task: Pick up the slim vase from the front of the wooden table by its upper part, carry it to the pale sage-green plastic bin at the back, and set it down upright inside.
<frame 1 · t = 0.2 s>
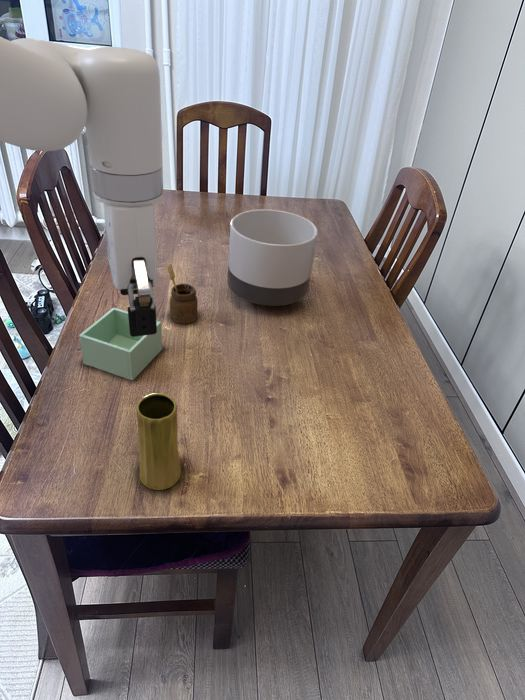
hand: (137, 312, 63), 25 cm above the table, tool pointing down, fingers open, 9 cm apart
bin: (124, 356, 94), on the table
planter: (266, 295, 118), on the table
utensil holder: (183, 317, 107), on the table
vase: (160, 474, 73), on the table
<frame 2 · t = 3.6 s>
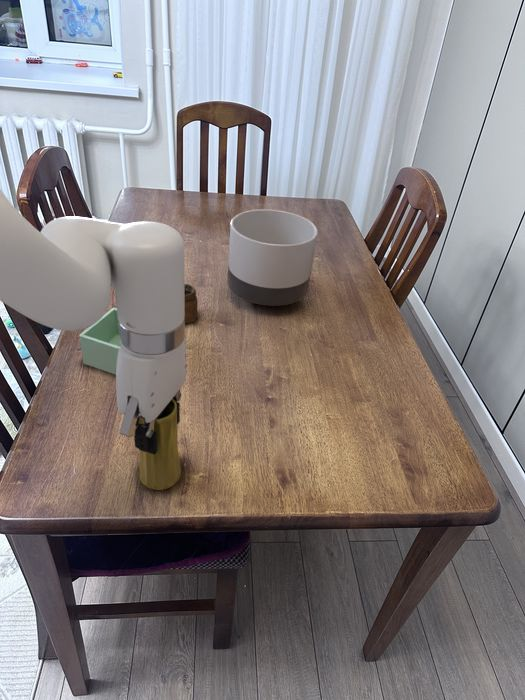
hand: (158, 433, 68), 9 cm above the table, tool pointing down, fingers closed on vase, 5 cm apart
vase: (160, 474, 73), on the table, touching gripper
everything else where it was.
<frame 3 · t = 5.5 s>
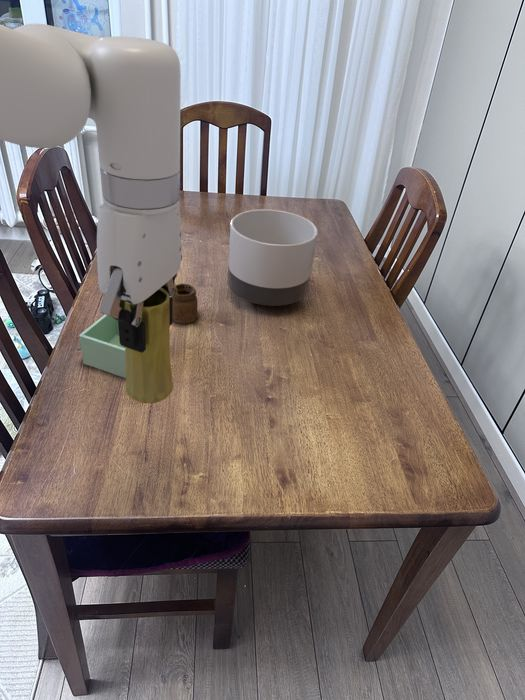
hand: (147, 333, 59), 25 cm above the table, tool pointing down, fingers closed on vase, 5 cm apart
vase: (149, 389, 64), point 16 cm above the table, touching gripper
everything else where it was.
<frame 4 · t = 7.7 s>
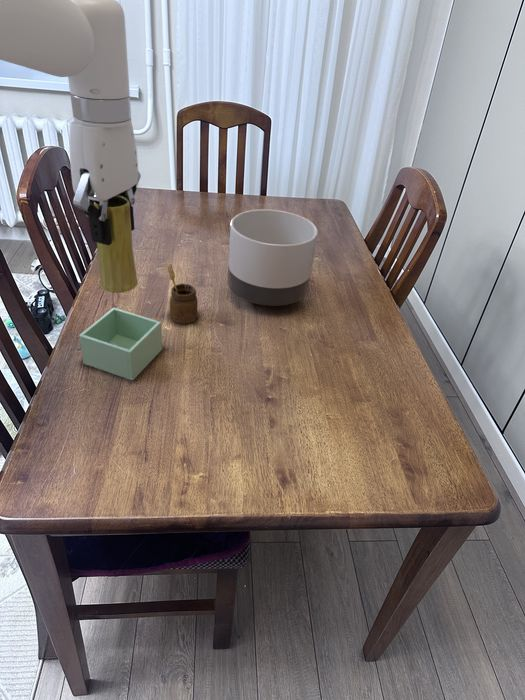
hand: (113, 234, 76), 27 cm above the table, tool pointing down, fingers closed on vase, 5 cm apart
vase: (118, 285, 81), point 18 cm above the table, touching gripper
everything else where it was.
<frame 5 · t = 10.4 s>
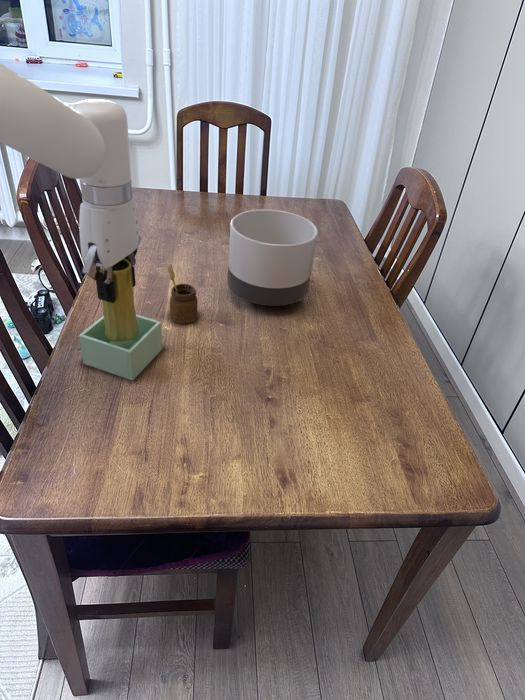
hand: (117, 291, 86), 15 cm above the table, tool pointing down, fingers closed on vase, 5 cm apart
vase: (121, 333, 91), point 6 cm above the table, touching gripper
everything else where it was.
when the fingers open (9 cm above the table, at t = 12.2 s): vase stays where it is, resting on bin.
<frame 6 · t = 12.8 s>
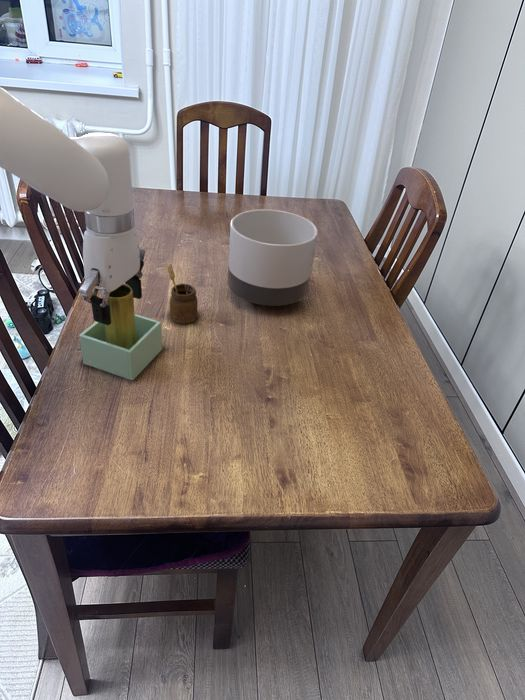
hand: (118, 309, 88), 11 cm above the table, tool pointing down, fingers open, 9 cm apart
vase: (123, 354, 94), resting on bin
everything else where it was.
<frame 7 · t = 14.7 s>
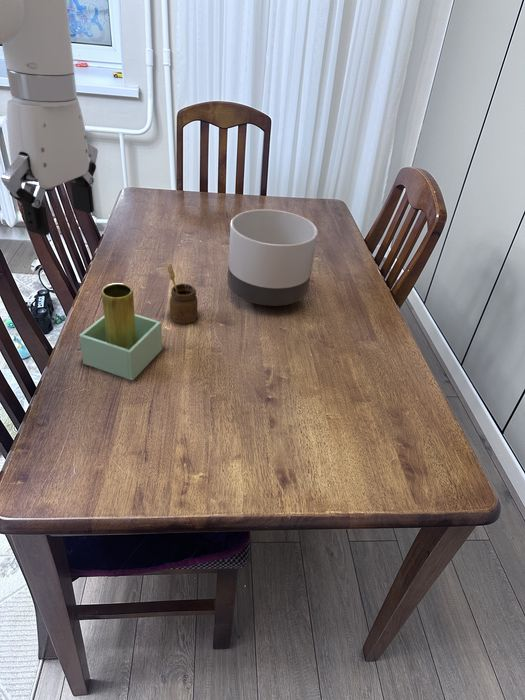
hand: (62, 221, 69), 30 cm above the table, tool pointing down, fingers open, 9 cm apart
nothing on the table moved.
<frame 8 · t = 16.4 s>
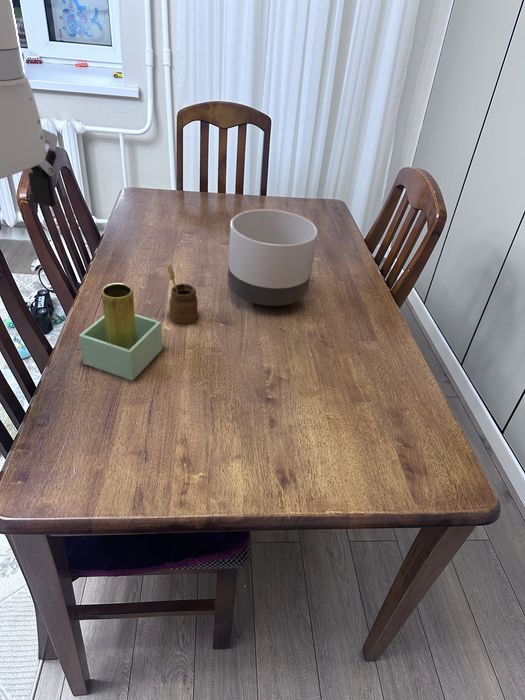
hand: (18, 216, 63), 33 cm above the table, tool pointing down, fingers open, 9 cm apart
nothing on the table moved.
at the end: vase inside the target area in the bin (0.1 cm from its centre), point 0.4 cm above the bin's base; vase tilted 0°; the gripper is holding nothing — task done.
